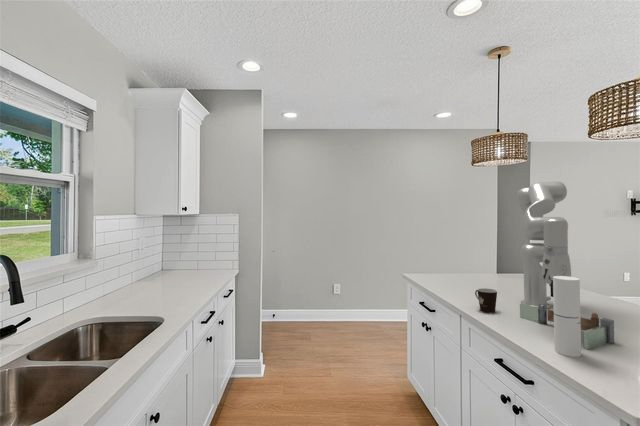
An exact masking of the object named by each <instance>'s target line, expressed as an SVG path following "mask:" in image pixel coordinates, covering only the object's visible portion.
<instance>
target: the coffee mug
mask: <svg viewBox="0 0 640 426" xmlns="http://www.w3.org/2000/svg"><path fill="white" fill-rule="evenodd" d="M474 295H475V297H476V298H477V299H478V303H479V311H480V312H482V313H485V314H486V313H487V314H495V313H496V308H497V300H498V299H497V298H498V290H496V289H494V288H487V287H486V288H485V287H483V288H482V287H481V288H477V289H476V290H475V292H474Z"/></svg>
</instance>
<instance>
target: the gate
mask: <svg viewBox="0 0 640 426" xmlns="http://www.w3.org/2000/svg"><path fill="white" fill-rule="evenodd" d="M548 321H549V322H552V323H554V309H553V310H552V309H547V322H548ZM580 322H581V331H583V332H584V331H585V330H589V329H592V328H596V327H599V326H600V318H599V315H598V313H596V312H592V313H591V315H590V319H589V318H586V317H581V316H580Z"/></svg>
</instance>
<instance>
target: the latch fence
mask: <svg viewBox="0 0 640 426" xmlns="http://www.w3.org/2000/svg"><path fill="white" fill-rule="evenodd" d="M606 344H608V345H611V344H615V320H614V319H610V318H606V317H605V318H599V327H596V328H592V329H589V330H585V331H584V330H583V348H584V349H585V350H591V349H594V348H597V347H600V346H603V345H606Z"/></svg>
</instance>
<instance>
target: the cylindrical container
mask: <svg viewBox="0 0 640 426" xmlns="http://www.w3.org/2000/svg"><path fill="white" fill-rule="evenodd" d="M580 283H581V281H580V278H578V277H573V276H571V277H568V276H554V277H553V297H552V298H553V301H552V302H553V311H554V322H553V329H554V331H553V337H554V339H553V340H554V341H553V342H554V343H553V345H554V352H556V353H558V354H560V355H562V356H566V357H572V358H573V357H574V358H578V357H581V356H582V333H581V332H582V330H581V322H580V317H581V288H580V286H581V285H580Z"/></svg>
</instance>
